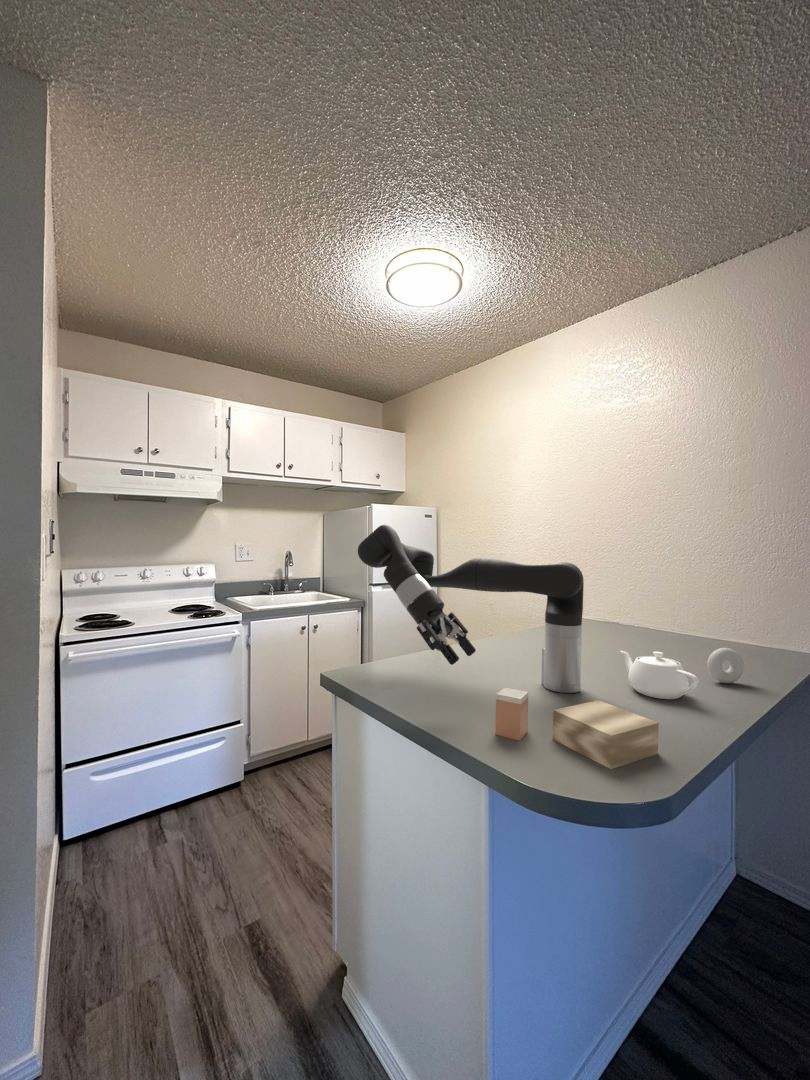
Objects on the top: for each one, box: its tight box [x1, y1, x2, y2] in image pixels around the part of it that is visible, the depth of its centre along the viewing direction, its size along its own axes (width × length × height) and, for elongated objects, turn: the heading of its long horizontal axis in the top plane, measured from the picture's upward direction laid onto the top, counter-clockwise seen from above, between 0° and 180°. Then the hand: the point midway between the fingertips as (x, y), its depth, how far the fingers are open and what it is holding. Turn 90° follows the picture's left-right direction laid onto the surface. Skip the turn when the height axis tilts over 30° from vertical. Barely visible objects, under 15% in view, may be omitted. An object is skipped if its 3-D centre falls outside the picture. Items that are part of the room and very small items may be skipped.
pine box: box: [552, 699, 660, 770], centre depth 85 cm, size 13×13×6 cm
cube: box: [494, 687, 529, 741], centre depth 90 cm, size 5×5×8 cm
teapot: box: [619, 650, 699, 700], centre depth 118 cm, size 22×14×11 cm, turn 24°
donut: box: [706, 647, 746, 684], centre depth 127 cm, size 10×4×10 cm, turn 92°
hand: (464, 657), depth 96 cm, fingers open, 8 cm apart
